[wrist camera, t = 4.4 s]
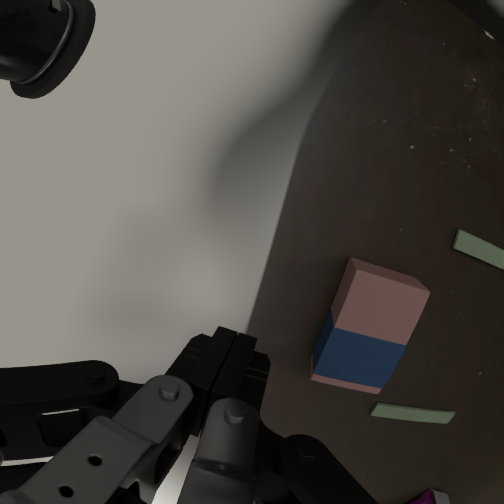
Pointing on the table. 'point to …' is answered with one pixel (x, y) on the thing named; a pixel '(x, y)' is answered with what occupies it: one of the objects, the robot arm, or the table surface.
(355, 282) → the eraser
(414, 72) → the table surface
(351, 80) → the table surface
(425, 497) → the candy bar box
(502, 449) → the table surface
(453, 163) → the table surface
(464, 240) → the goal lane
